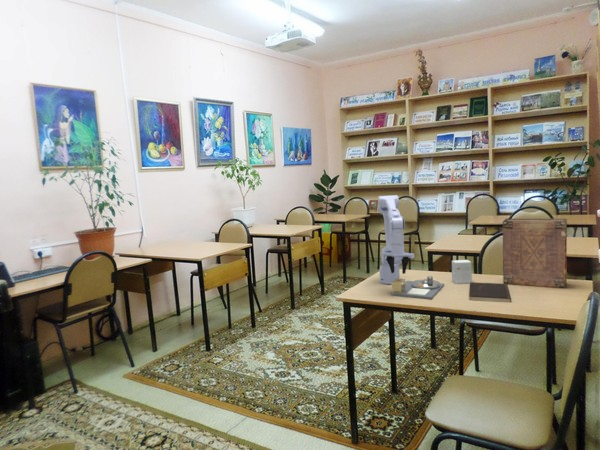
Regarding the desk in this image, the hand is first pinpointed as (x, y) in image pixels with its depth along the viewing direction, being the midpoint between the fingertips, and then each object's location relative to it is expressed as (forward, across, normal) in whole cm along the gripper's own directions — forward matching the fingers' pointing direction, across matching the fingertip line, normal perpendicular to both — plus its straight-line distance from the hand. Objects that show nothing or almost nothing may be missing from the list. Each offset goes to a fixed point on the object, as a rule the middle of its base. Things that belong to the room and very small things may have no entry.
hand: (398, 272), depth 194 cm
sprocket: (+8, +9, +12) cm, 17 cm away
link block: (+8, 0, 0) cm, 8 cm away
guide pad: (+8, +9, 0) cm, 12 cm away
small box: (+10, +22, +28) cm, 37 cm away
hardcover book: (+10, +37, +12) cm, 40 cm away
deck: (+9, +7, +7) cm, 14 cm away
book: (+10, +53, +35) cm, 64 cm away
